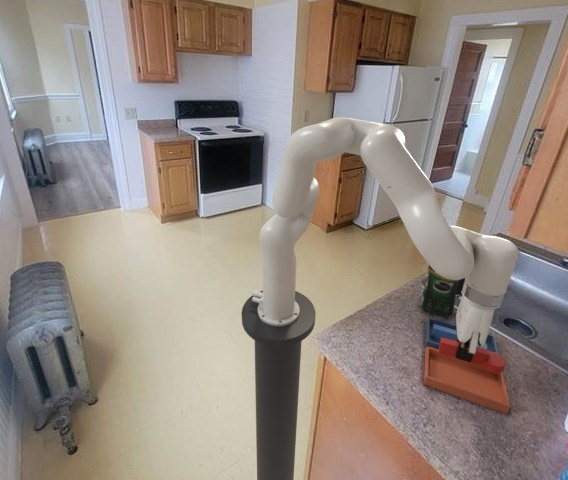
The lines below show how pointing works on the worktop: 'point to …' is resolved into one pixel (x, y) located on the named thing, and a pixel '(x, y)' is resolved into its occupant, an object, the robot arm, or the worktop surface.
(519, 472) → the worktop surface
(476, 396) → the tray orange
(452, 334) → the blue bar with disc
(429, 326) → the tray blue
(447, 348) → the red bar with disc
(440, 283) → the coffee jar
